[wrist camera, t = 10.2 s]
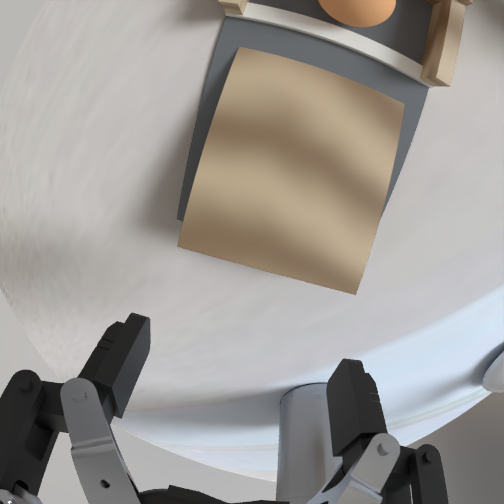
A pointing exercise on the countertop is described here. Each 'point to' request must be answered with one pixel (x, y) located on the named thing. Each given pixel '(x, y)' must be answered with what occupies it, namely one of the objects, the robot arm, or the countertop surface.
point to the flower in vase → (495, 375)
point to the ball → (359, 11)
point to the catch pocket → (437, 42)
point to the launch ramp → (293, 171)
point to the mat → (324, 61)
